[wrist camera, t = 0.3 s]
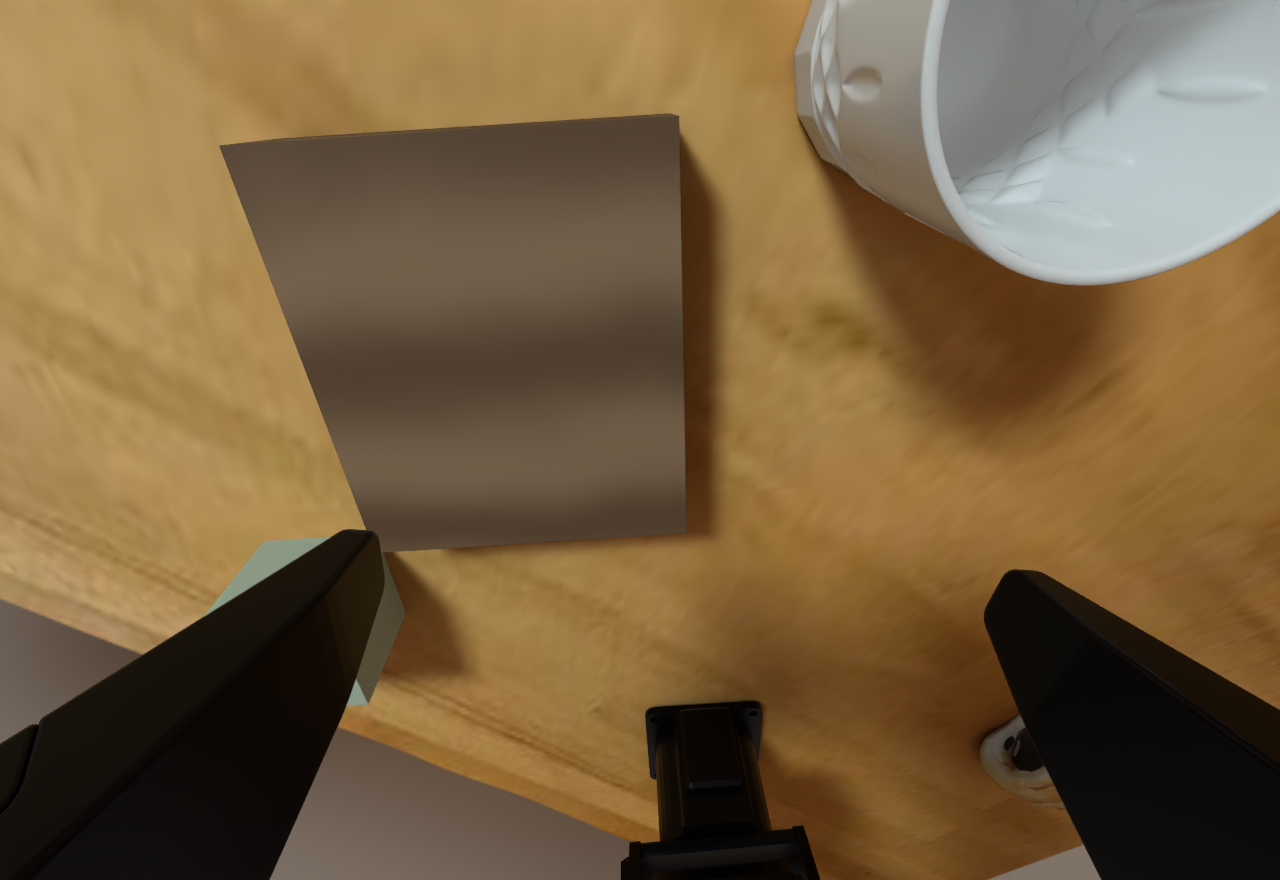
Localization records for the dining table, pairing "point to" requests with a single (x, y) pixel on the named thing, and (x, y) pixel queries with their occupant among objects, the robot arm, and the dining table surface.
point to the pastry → (1018, 765)
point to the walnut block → (487, 321)
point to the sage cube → (386, 620)
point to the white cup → (1054, 124)
